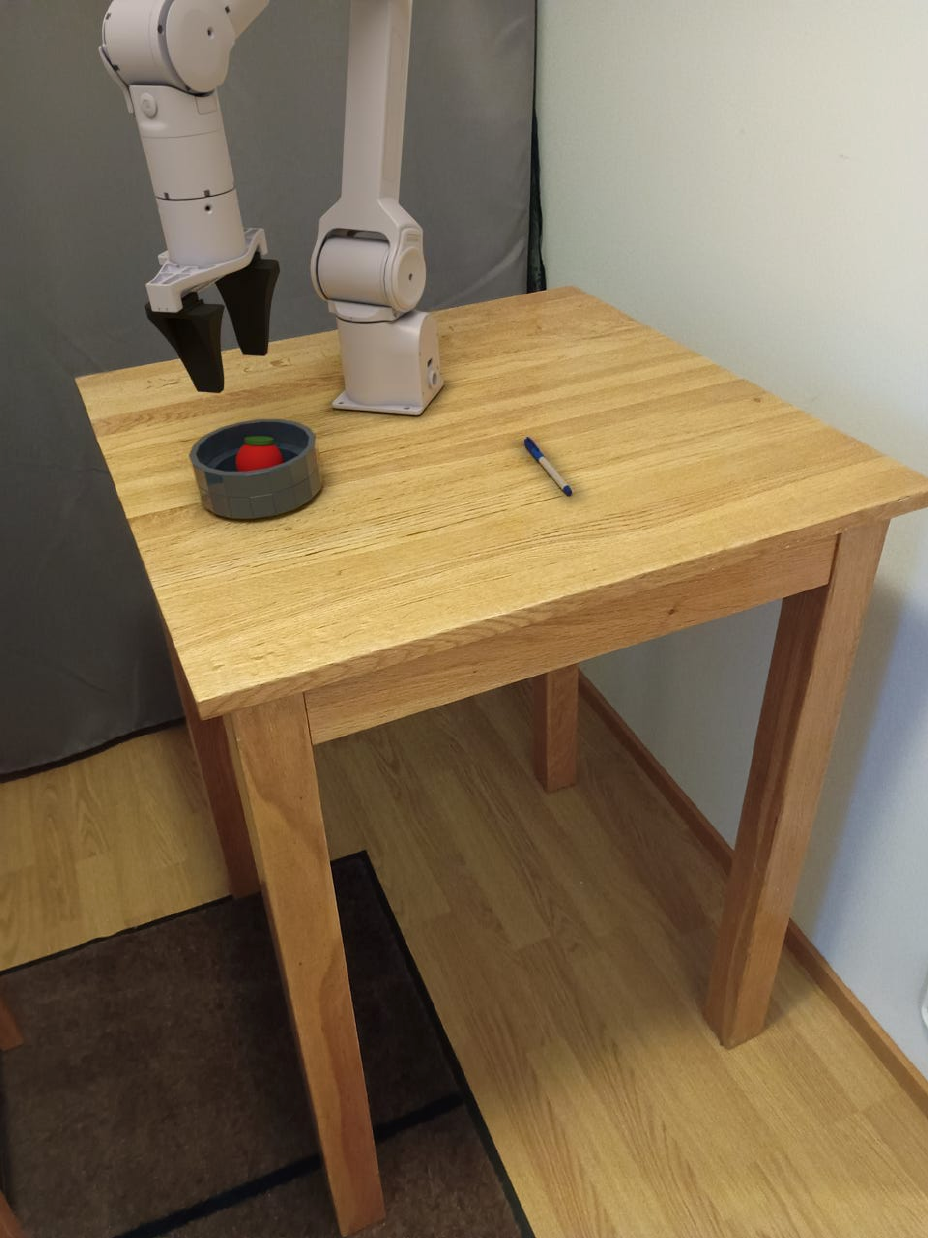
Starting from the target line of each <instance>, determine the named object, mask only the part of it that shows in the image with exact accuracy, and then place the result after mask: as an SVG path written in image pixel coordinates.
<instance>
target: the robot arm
mask: <svg viewBox="0 0 928 1238" xmlns="http://www.w3.org/2000/svg"><path fill="white" fill-rule="evenodd" d="M270 1H271V0H112V1H111V3H110V5H109V6H108V9H107V11H106V13H105V15H104V18H103V21H102V27H101V37H102V38H101V39H102V45H100V46H98V52H99V55H100V58H101V61H102V64H103V65H104V67H105V69H106V71H107V73H108V74H109V76H110V77H111V79H112V80H113V81H114V82H115V83H116V84H117V86H118V87H119V89H120V90H121V92H122V94H123V96H124V99H125V104H126V108H127V111H128V114H131V116H132V118H133V120H134V121H136V122H137V126H138V131H139V136H140V140H141V144H142V148H143V152H144V157H145V160H146V165H147V168H148V173H149V177H150V181H151V185H152V190H153V195H154V197H155V202H156V206H157V211H158V214H159V219H160V222H161V223H160V224H161V227H162V232H163V236H164V238H165V244H166V249H167V250H165V251H163V252H161V253H160V254H158V255H157V260H158V264H159V265H160V266H161V268H160V270H159V271H158V272H157V274H156V275H155V276H154V278H153V279H151V280H150V281H148V282H147V283H145V284H144V285H145V289H146V293H147V297H148V302H147V303H145V304H144V310H145V314H146V315H145V316H146V319H147V320H148V321H149V322H150V323H151V324H152V325H153V326H154V327H156V329H157V330H158V331H159V332H160V333H161V334H162V335H163V337H164V338H165V339H166V340H167V341H168V344H170V345H171V347H172V348H173V350H174V352H175V353H176V354H177V356H178V358H179V359H180V361H181V363H182V365H183V366H184V369H185V370H186V372H187V374H188V376H189V378H190V380H191V382H192V384H193V386H194V388H195V389H196V391H197V392H198V393H209V394H221V393H222V392H224V390H225V370H224V363H223V357H222V356H223V355H222V344H221V342H222V340H221V337H222V336H221V335H222V324H223V318H224V311H225V308H226V311H227V312H228V315H229V318H230V322H231V326H232V329H233V333H234V335H235V339H236V342H237V345H238V348H239V350H240V351H241V354H242V355H243V356H256V357H257V356H259V357H265V356H266V355H267V354H268V351H269V339H270V321H271V309H272V301H273V297H274V292H275V288H276V284H277V282H278V279H279V276H280V273H281V267H280V261H278V260H277V259H270V258H262V257H264V256H265V255H266V254H268V253H269V252H268V245H267V239H266V234H265V229H264V228H260V227H259V228H256V227H244V226H243V221H242V215H241V211H240V205H239V199H238V194H237V188H236V184H235V179H234V174H233V173H234V172H233V168H232V163H231V157H230V152H229V147H228V141H227V137H226V131H225V126H224V120H223V115H222V110H221V109H222V108H221V104H220V99H219V94H218V87H219V86H222V85H223V84H224V82H225V80H226V78H227V74H228V71H229V65H230V57H231V50H232V48H233V47H234V46H235V44H236V40H237V39H238V38H240V36H241V35H242V34H243V33H244V32H245V30H246V29H248V27H249V26H250V25H251V24H253V22H254V21H255V20H256V19H257V17H259V15H260V14H261V13H262V12H263V11H264V10H265V9H266V7H268V5H269V4H270ZM413 2H414V1H413V0H350V12H349V32H348V33H349V34H348V52H347V73H346V74H347V75H346V76H347V77H346V94H345V95H346V96H345V115H344V116H345V117H344V135H343V136H344V137H343V157H342V158H343V159H342V175H341V176H342V177H341V197H340V198H339V199H338V200H337V201H336V202H335V203H334V204H333V205H332V206H331V207H329V208H328V210H326V211H325V212H324V213H323V214H322V215H321V217H319V219H318V232H317V239H316V243H315V245H314V249H313V251H312V255H311V259H310V268H309V269H310V277H311V278H310V279H311V282H312V285H313V289H314V290H315V292H316V294H317V296H319V298H320V299H321V300H322V301H324V302H326V303H327V308H328V312H329V313H330V314H331V313H332V314H335V320H336V326H337V335H338V342H339V348H340V356H341V357H340V358H341V363H342V371H343V379H344V387H345V389H344V390H343V391H342V392H341V393H340V394H339V395H338V396H337V397H336V398H335V400H333V401H332V403H331V407H332V408H333V409H337V410H349V411H350V410H351V411H363V412H375V413H387V414H399V415H412V416H418V415H421V414H422V413H423V412H424V411H425V409H426V408H427V407H428V406H429V404H430V403H431V402H432V400H433V399H434V398H435V396H437V394H439V393H438V392H440V390H441V389H442V388H443V386H444V385H445V382H444V381H445V380H443V379H442V371H441V358H440V357H441V356H440V345H439V344H440V343H439V331H438V325H437V321H436V319H435V315H434V314H432V313H431V312H427V311H421V310H418V309H416V307H417V305H418V303H419V301H420V300H421V298H422V297H423V294H424V291H425V287H426V281H427V266H426V262H425V256H424V230H423V228H422V226H421V225H420V224H419V223H418V222H417V221H416V220H415V219H414V218H413V217H412V216H411V215H410V214H409V212H407V210H406V209H405V208H404V207H403V206H402V205H401V204H400V191H401V190H400V189H401V173H402V163H403V162H402V159H403V148H404V147H403V146H404V144H403V143H404V132H405V131H404V130H405V118H406V116H405V115H406V104H407V103H406V101H407V90H408V89H407V88H408V73H409V59H410V46H411V45H410V43H411V29H412V15H413ZM361 233H371V234H380V235H381V234H382V235H384V236H385V237H386V239H383V238H372V237H362V236H357V235H358V234H361ZM214 284H215V287H216V288H217V290H218V293H219V294H220V296H221V297H222V300H223V302H224V304H223V303H222V304H221V303H220V304H219V303H205V302H204V299H203V298H200V297H199V293H200V292H202V291H203V290H205V289H206V288H208V287H210V286H211V285H214Z"/></svg>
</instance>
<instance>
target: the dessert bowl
mask: <svg viewBox="0 0 928 1238" xmlns="http://www.w3.org/2000/svg"><path fill="white" fill-rule="evenodd" d="M254 436H262V437H271V438H273V439H274V443H273V444H274V445H275V446H276V447H277V448H278V449H279V451H280V452H281V454H282V457H283V462H284V463H283V464H280V465H277V466H273V467H270V468H267V469H261V470H255V471H248V472H238V471H237V469H236V456H237V453H238V451H239V450H240V448H241V447H242V446H243V445H244V444H245V440H244V439H245V438H246V437H254ZM188 457H189V462H190V466H191V469H192V473H193V477H194V480H195V484H196V489H197V493H198V496H199V499H200V501H201V504H202V507H204V508H205V509H207V510H208V511H210V512H211V513H213V514H215V515H218V516H220V517H225V518H229V519H247V520H248V519H252V520H253V519H260V518H261V519H262V518H266V517H273V516H279V515H281V514H284V513H287V512H290V511H293V510H296V509H298V508H299V507H301V506H303V505H304V504H306V503H308V502H309V501H311V500H312V499H313V498H315V496H317V494H318V493H319V492H320V491H321V489H322V487H323V479H324V476H323V471H322V464H321V459H320V451H319V447H318V440H317V435H316V434H315V433H314V431H313V430H312V428H311V427H309V426H307V425H305V424H303V423H301V422H299V421H294V420H289V419H284V418H258V419H257V418H256V419H250V420H242V421H238V422H234V423H231V424H227V425H225V426H221V427H219V428H216V429H215V430H212V431H210V432H208V433H206V434H205V435H203V436H202V437H200V438H199V440H197V441H196V442H195V443H194V444H192V447H191V449H190V451H189V454H188Z"/></svg>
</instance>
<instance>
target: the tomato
mask: <svg viewBox="0 0 928 1238" xmlns="http://www.w3.org/2000/svg"><path fill="white" fill-rule="evenodd" d="M244 440H245V444H244V445H243V446H242V447H241V448H240V450H239V451H238V453H237V456H236V469H237V471H238V472H248V471H255V470H261V469H267V468H270V467H273V466H277V465H280V464H283V463H284V462H283V457H282V454H281V452H280V451H279V449H278V448H277V447H276V446H275V445H274V444H273V443H274V439H273V438H271V437H262V436H254V437H246V438H245V439H244Z"/></svg>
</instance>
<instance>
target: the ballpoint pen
mask: <svg viewBox="0 0 928 1238" xmlns="http://www.w3.org/2000/svg"><path fill="white" fill-rule="evenodd" d="M523 444H524V446H525V448H526V449H527V450H528V452H529V453H530V454H531V455H532V456H533V458H534V459H535V460H536V461H537V462H538V463H539V464H540V465H541V466H542V467H543V468H544V470H545V471H546V472H547V473H548V474H549V476H550V477H551V478H552V479H553V480H554V482H555V483H556V484H557V485H558V487H559V488H560V489H561V490H562V492H563V493H565V494H567V495H568V496H571V495H572V494H573V491H572V488H571V487H570V485H569V484H568V483H567V482H566V481H565V480H564V478H563V477H562V476H561V475H560V473H558V471H557V470H556V469H555V468H554V467H553V465H552V464H551V463H550V462H549V461H548V460H547V458H546V456H545V455H544V454H543V452H542V451H541V450H540V447H539V446H538V445H537V444H536V443H535V441H534V440H533V439H532V438H530V437H529V436H526V437H525V439H524V440H523Z"/></svg>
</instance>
